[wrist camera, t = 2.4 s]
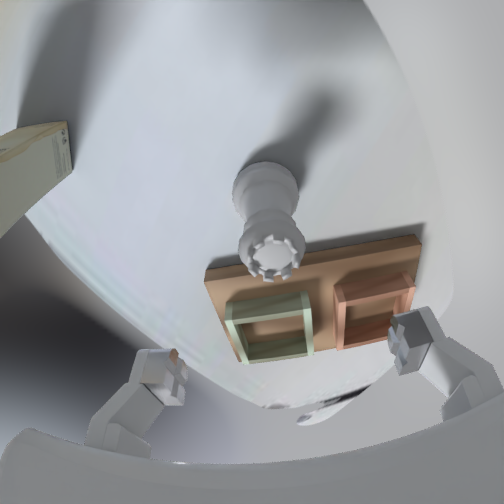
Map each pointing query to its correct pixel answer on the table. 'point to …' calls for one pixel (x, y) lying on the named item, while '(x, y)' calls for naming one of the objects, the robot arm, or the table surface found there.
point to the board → (316, 300)
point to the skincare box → (31, 167)
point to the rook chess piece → (268, 220)
